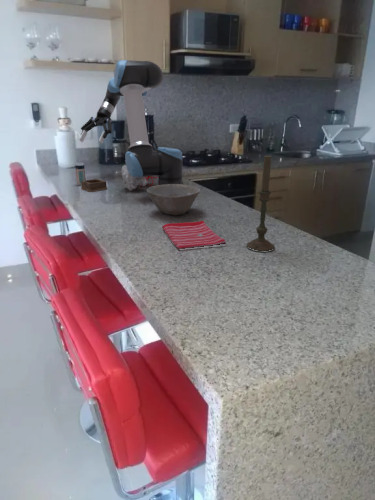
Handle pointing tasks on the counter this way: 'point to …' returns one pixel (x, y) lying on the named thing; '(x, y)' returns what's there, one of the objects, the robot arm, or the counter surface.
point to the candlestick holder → (263, 211)
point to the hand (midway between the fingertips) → (90, 141)
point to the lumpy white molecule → (133, 179)
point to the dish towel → (191, 235)
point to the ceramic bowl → (173, 197)
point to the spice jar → (80, 173)
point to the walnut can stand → (93, 185)
